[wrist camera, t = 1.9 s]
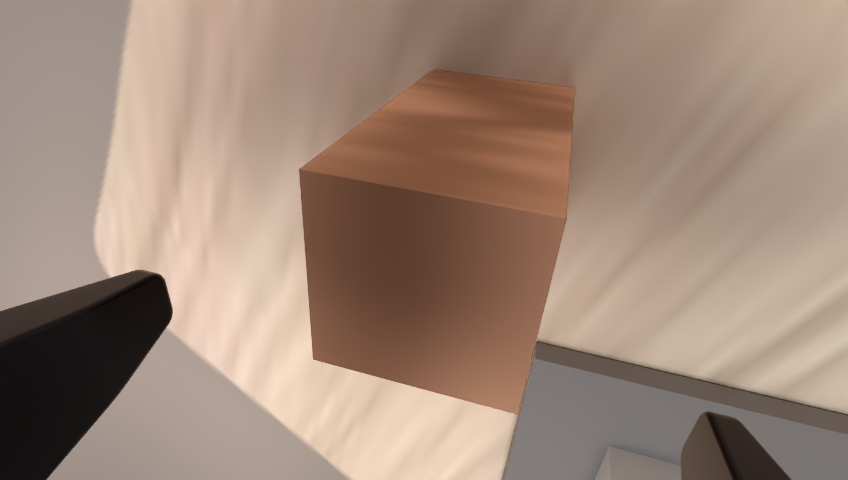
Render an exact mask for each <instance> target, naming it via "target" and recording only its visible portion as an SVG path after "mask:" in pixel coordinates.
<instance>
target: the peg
mask: <svg viewBox="0 0 848 480" xmlns="http://www.w3.org/2000/svg"><path fill="white" fill-rule="evenodd" d="M574 92H575V88H572V87H565V86H557V85H549V84H541V83H534V82H526V81H518V80H511V79H503V78H495V77H488V76H480V75H472V74H464V73H457V72H449V71H441V70H433V71H431V72H430V73H428V74H427V75H426V76H424V77H423V78H422V79H420V80H419V81H418V82H416V83H415V84H414V85H412V86H411V87H410V88H408V89H407V90H406V91H404V92H403V93H402V94H400V95H399V96H397V97H396V98H395V99H393V100H392V101H391V102H389V103H388V104H387V105H385V106H384V107H383V108H381V109H380V110H379V111H377V112H376V113H375V114H373V115H372V116H370V117H369V118H368V119H366V120H365V121H364V122H362V123H361V124H360V125H358V126H357V127H356V128H354V129H353V130H352V131H350V132H349V133H348V134H346V135H345V136H343V137H342V138H341V139H339V140H338V141H337V142H335V143H334V144H333V145H331V146H330V147H329V148H327V149H326V150H325V151H323V152H322V153H321V154H319V155H318V156H317V157H315V158H314V159H312V160H311V161H310V162H308V163H307V164H306V165H304V166H303V167H302V168H300V169H299V173H300V186H301V200H302V214H303V227H304V241H305V255H306V268H307V282H308V296H309V309H310V323H311V336H312V350H313V360H317V361H321V362H325V363H328V364H332V365H336V366H339V367H343V368H347V369H351V370H354V371H358V372H362V373H365V374H369V375H373V376H376V377H380V378H384V379H388V380H391V381H395V382H399V383H402V384H406V385H410V386H414V387H417V388H421V389H425V390H428V391H432V392H436V393H440V394H443V395H447V396H451V397H454V398H458V399H462V400H466V401H469V402H473V403H477V404H480V405H484V406H488V407H492V408H495V409H499V410H503V411H506V412H510V413H514V414H517V415H518V411H519V407H520V403H521V399H522V395H523V391H524V387H525V383H526V379H527V375H528V371H529V367H530V363H531V359H532V355H533V351H534V347H535V343H536V339H537V335H538V331H539V327H540V323H541V319H542V315H543V311H544V307H545V303H546V299H547V295H548V291H549V287H550V283H551V279H552V275H553V271H554V267H555V263H556V259H557V255H558V251H559V247H560V243H561V239H562V235H563V231H564V227H565V223H566V219H567V204H568V188H569V172H570V156H571V140H572V124H573V108H574Z"/></svg>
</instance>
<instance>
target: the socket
mask: <svg viewBox="0 0 848 480" xmlns="http://www.w3.org/2000/svg"><path fill="white" fill-rule="evenodd" d="M705 411H712V412H716V413H720V414H724V415H728V416H732V417H735V418H737V419H738V420H739V421H740V422H741V423H742V424H743V425H744V426H745V427H746V428H747V429H748V430H749V431H750V433H751V434H752V435H753V436H754V437H755V438H756V439H757V440H758V442H759V443H760V444H761V445H762V446H763V447H764V448H765V449H766V451H767V452H768V453H769V454H770V455H771V456H772V457H773V459H774V460H775V461H776V462H777V463H778V464H779V465H780V466H781V468H782V469H783V470H784V471H785V472H786V473H787V474H788V475H789V477H790V478H791V479H792V480H848V415H844V414H840V413H835V412H831V411H827V410H823V409H818V408H814V407H810V406H806V405H801V404H797V403H793V402H789V401H785V400H780V399H776V398H772V397H768V396H763V395H759V394H755V393H751V392H746V391H742V390H738V389H734V388H730V387H725V386H721V385H717V384H713V383H708V382H704V381H700V380H696V379H691V378H687V377H683V376H679V375H675V374H670V373H666V372H662V371H658V370H653V369H649V368H645V367H641V366H636V365H632V364H628V363H624V362H620V361H615V360H611V359H607V358H603V357H598V356H594V355H590V354H586V353H581V352H577V351H573V350H569V349H565V348H560V347H556V346H552V345H548V344H543V343H539V342H537V344H536V348H535V352H534V356H533V360H532V363H531V367H530V371H529V375H528V379H527V383H526V387H525V391H524V395H523V399H522V403H521V407H520V411H519V415H518V419H517V423H516V427H515V431H514V435H513V439H512V443H511V447H510V451H509V455H508V459H507V463H506V467H505V471H504V475H503V479H502V480H681V452H682V448H683V446H684V443H685V442H686V440H687V438H688V436H689V434H690V432H691V431H692V429H693V427H694V425H695V423H696V421H697V419H698V418H699V416H700V415H701V414H702V413H703V412H705Z"/></svg>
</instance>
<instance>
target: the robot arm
mask: <svg viewBox="0 0 848 480" xmlns="http://www.w3.org/2000/svg"><path fill="white" fill-rule="evenodd" d="M172 314H173V309H172V305H171V301H170V297H169V293H168V289H167V286H166V282H165V279H164V278H163V277H162V276H161V275H160V274H157V273H153V272H149V271H145V270H135V271H132V272H129V273H125V274H122V275H119V276H115V277H112V278H109V279H105V280H102V281H99V282H95V283H93V284H89V285H85V286H82V287H79V288H76V289H72V290H69V291H66V292H62V293H59V294H56V295H52V296H49V297H46V298H43V299H39V300H36V301H33V302H29V303H26V304H23V305H19V306H16V307H13V308H9V309H6V310H3V311H0V480H47V478H48V477H49V476H50V475H51V474H52V473H53V471H54V470H55V469H56V468H57V467H58V465H59V464H60V463H61V462H62V461H63V459H64V458H65V457H66V456H67V455H68V453H70V451H71V450H72V449H73V448H74V447H75V445H76V444H77V443H78V442H79V441H80V439H81V438H82V437H83V436H84V435H85V434H86V433H87V431H88V430H89V429H90V428H91V427H92V426H93V424H94V423H95V422H96V421H97V420H98V418H99V417H100V416H101V415H102V414H103V413H104V411H105V410H106V409H107V408H108V407H109V405H110V404H111V403H112V402H113V401H114V399H115V398H116V397H117V396H118V394H119V393H120V392H121V390H122V389H123V388H124V386H125V385H126V384H127V382H128V381H129V380H130V378H131V377H132V375H133V374H134V372H135V371H136V369H137V368H138V367H139V365H140V364H141V363H142V361H143V360H144V358H145V357H146V355H147V354H148V352H149V351H150V350H151V348H152V347H153V345H154V344H155V343H156V341H157V340H158V338H159V337H160V336H161V334H162V333H163V331H164V330H165V329H166V327H167V326H168V324H169V323H170V321H171V318H172ZM681 480H792V479H791V478H790V477H789V475H788V474H787V473H786V472H785V471H784V470H783V469H782V468H781V466H780V465H779V464H778V463H777V462H776V461H775V460H774V459H773V457H772V456H771V455H770V454H769V453H768V452H767V451H766V449H765V448H764V447H763V446H762V445H761V444H760V443H759V442H758V440H757V439H756V438H755V437H754V436H753V435H752V434H751V433H750V431H749V430H748V429H747V428H746V427H745V426H744V425H743V424H742V423H741V422H740V421H739V420H738V419H737V418H735V417H732V416H728V415H724V414H720V413H716V412H712V411H705V412H703V413H702V414H701V415H700V416H699V418H698V419H697V421H696V423H695V425H694V427H693V429H692V431H691V432H690V434H689V436H688V438H687V440H686V442H685V443H684V446H683V448H682V452H681Z"/></svg>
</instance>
